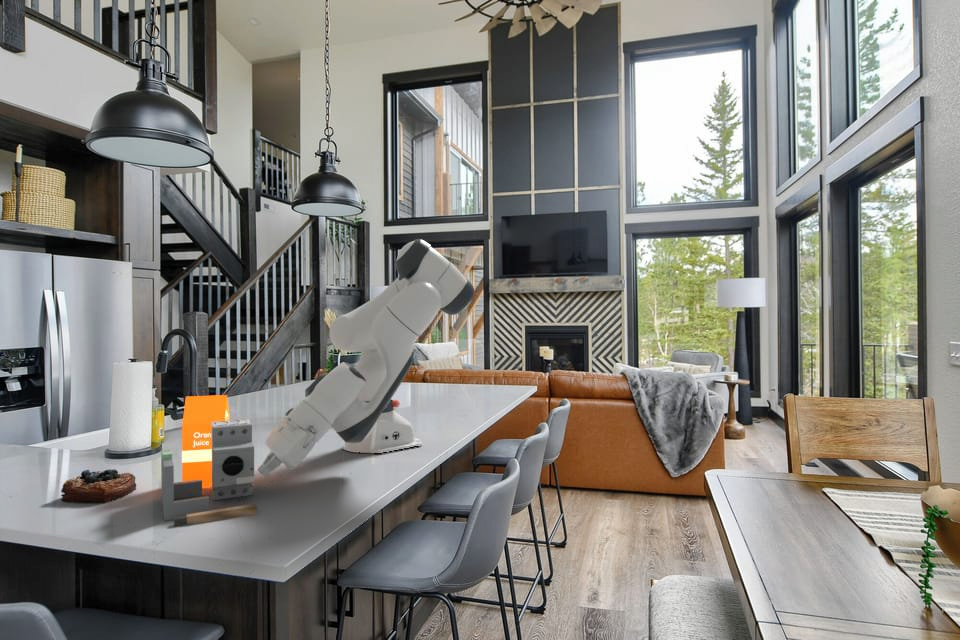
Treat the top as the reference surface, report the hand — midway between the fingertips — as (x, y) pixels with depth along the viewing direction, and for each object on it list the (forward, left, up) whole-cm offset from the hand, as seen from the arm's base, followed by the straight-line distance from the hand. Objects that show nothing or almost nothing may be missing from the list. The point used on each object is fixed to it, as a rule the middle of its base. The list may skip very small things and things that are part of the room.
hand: (261, 473), depth 122 cm
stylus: (+9, +12, -5) cm, 15 cm away
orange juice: (+9, -15, -5) cm, 18 cm away
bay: (+14, 0, -4) cm, 15 cm away
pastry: (+29, -17, -5) cm, 34 cm away
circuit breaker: (+6, -1, -5) cm, 7 cm away
